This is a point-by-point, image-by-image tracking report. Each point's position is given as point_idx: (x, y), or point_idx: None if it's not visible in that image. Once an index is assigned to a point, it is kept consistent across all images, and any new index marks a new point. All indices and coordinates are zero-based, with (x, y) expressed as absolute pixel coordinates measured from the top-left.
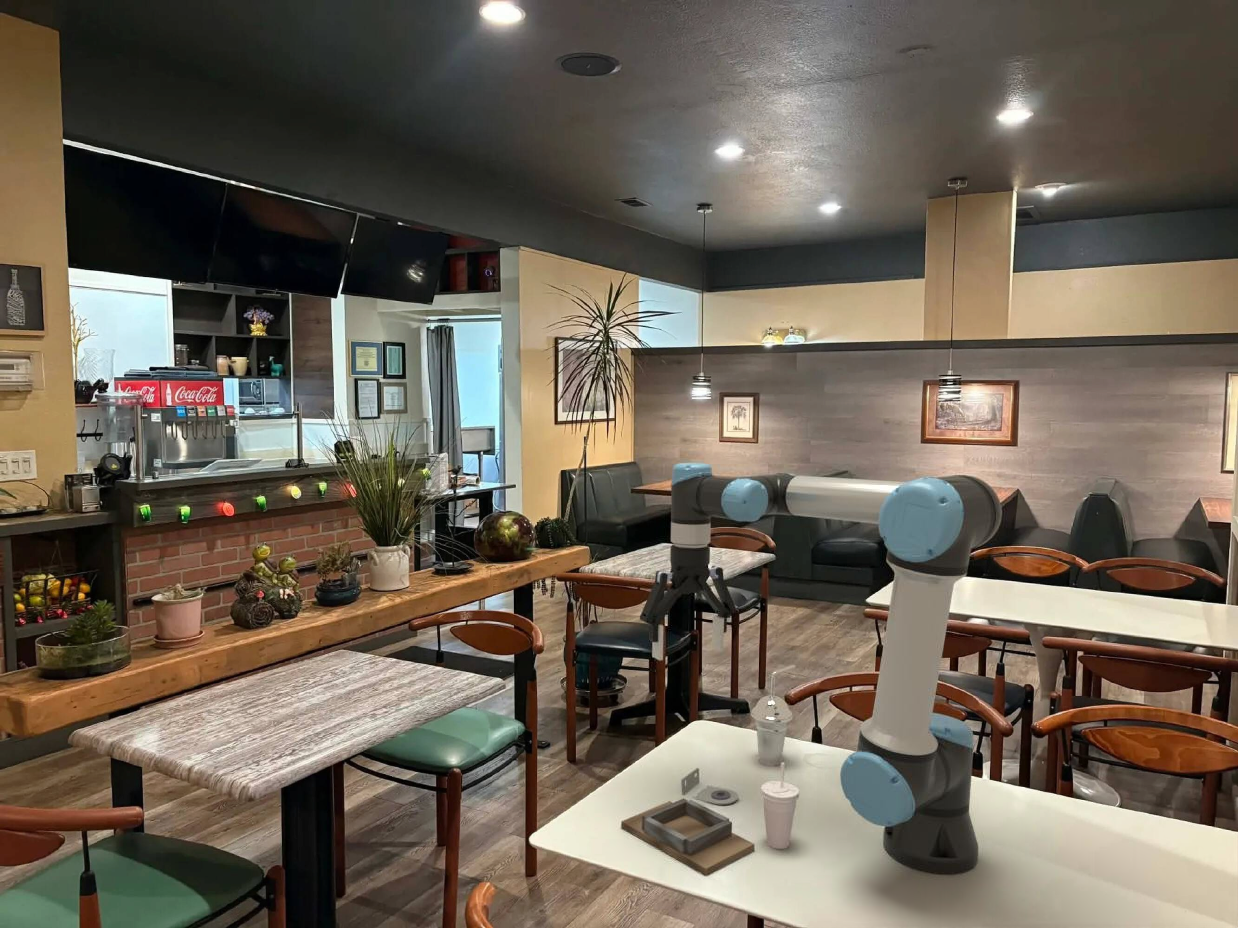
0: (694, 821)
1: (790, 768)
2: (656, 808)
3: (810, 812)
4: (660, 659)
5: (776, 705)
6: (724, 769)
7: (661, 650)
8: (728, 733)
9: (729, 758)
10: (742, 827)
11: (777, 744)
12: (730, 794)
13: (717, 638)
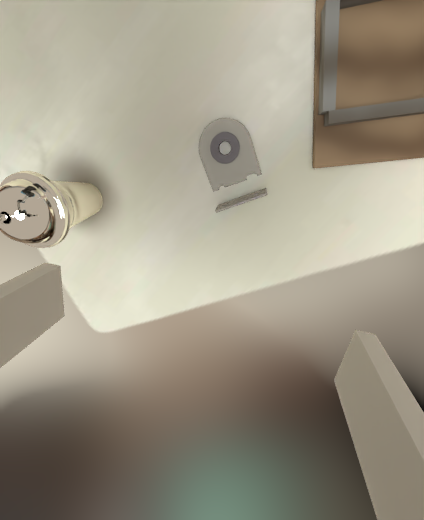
0: (337, 84)
1: (76, 163)
2: (350, 160)
3: (141, 19)
4: (369, 335)
5: (16, 193)
6: (160, 216)
7: (383, 364)
8: (87, 294)
9: (132, 238)
10: (269, 40)
11: (68, 182)
12: (210, 141)
13: (20, 311)
